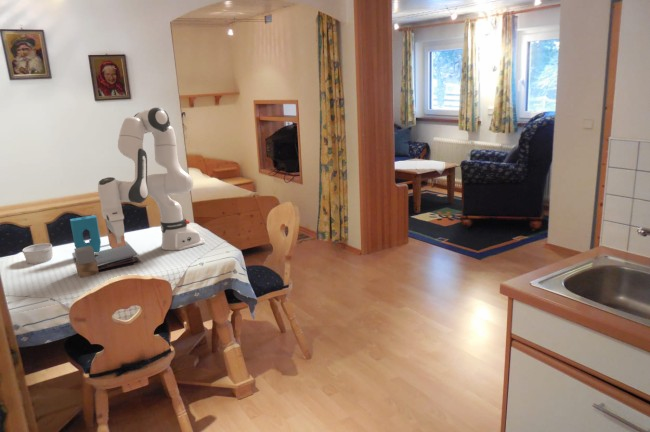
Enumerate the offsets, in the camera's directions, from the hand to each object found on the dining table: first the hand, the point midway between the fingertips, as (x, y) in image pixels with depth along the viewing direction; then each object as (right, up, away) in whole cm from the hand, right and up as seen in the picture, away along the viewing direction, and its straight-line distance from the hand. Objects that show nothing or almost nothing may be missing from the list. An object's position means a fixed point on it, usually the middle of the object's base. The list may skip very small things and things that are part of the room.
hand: (117, 241), depth 242 cm
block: (-22, -9, +21) cm, 32 cm away
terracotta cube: (0, -2, +1) cm, 2 cm away
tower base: (-12, -15, -4) cm, 19 cm away
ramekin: (-46, -11, +17) cm, 51 cm away
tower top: (-12, -9, -6) cm, 16 cm away
